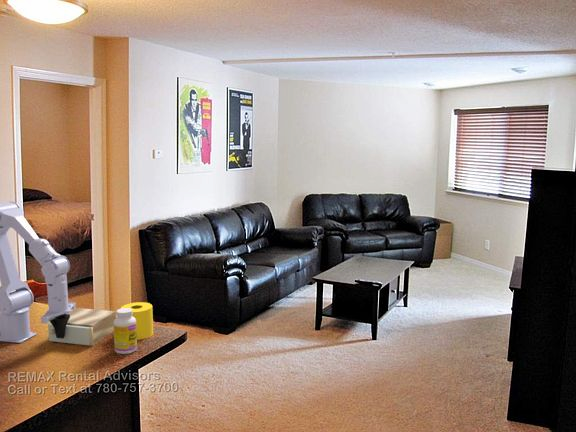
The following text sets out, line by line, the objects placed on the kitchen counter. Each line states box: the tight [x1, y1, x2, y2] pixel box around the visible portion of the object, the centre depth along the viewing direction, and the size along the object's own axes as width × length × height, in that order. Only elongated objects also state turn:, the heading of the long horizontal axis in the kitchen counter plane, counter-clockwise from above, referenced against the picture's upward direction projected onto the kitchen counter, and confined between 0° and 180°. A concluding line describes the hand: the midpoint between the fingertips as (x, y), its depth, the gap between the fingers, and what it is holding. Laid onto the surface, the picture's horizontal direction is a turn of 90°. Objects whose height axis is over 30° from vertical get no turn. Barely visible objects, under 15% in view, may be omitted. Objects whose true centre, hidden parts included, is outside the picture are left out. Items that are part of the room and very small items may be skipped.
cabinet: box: [66, 307, 117, 345], centre depth 178 cm, size 15×14×6 cm
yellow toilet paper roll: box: [120, 301, 154, 341], centre depth 179 cm, size 10×10×9 cm
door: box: [47, 322, 95, 347], centre depth 170 cm, size 16×2×6 cm, turn 76°
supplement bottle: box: [113, 307, 138, 355], centre depth 166 cm, size 7×7×13 cm
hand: (60, 337), depth 170 cm, fingers closed
